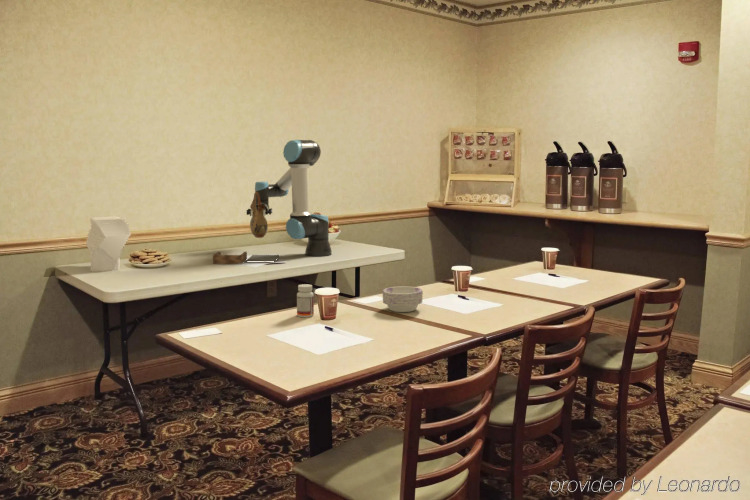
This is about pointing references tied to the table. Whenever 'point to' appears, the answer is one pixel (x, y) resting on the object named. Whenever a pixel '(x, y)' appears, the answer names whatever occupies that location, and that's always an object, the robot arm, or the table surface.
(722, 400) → the table surface
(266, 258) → the mat
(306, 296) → the pill bottle
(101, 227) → the white faceted vase
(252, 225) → the ceramic vessel
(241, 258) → the holder
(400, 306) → the paper bowls
